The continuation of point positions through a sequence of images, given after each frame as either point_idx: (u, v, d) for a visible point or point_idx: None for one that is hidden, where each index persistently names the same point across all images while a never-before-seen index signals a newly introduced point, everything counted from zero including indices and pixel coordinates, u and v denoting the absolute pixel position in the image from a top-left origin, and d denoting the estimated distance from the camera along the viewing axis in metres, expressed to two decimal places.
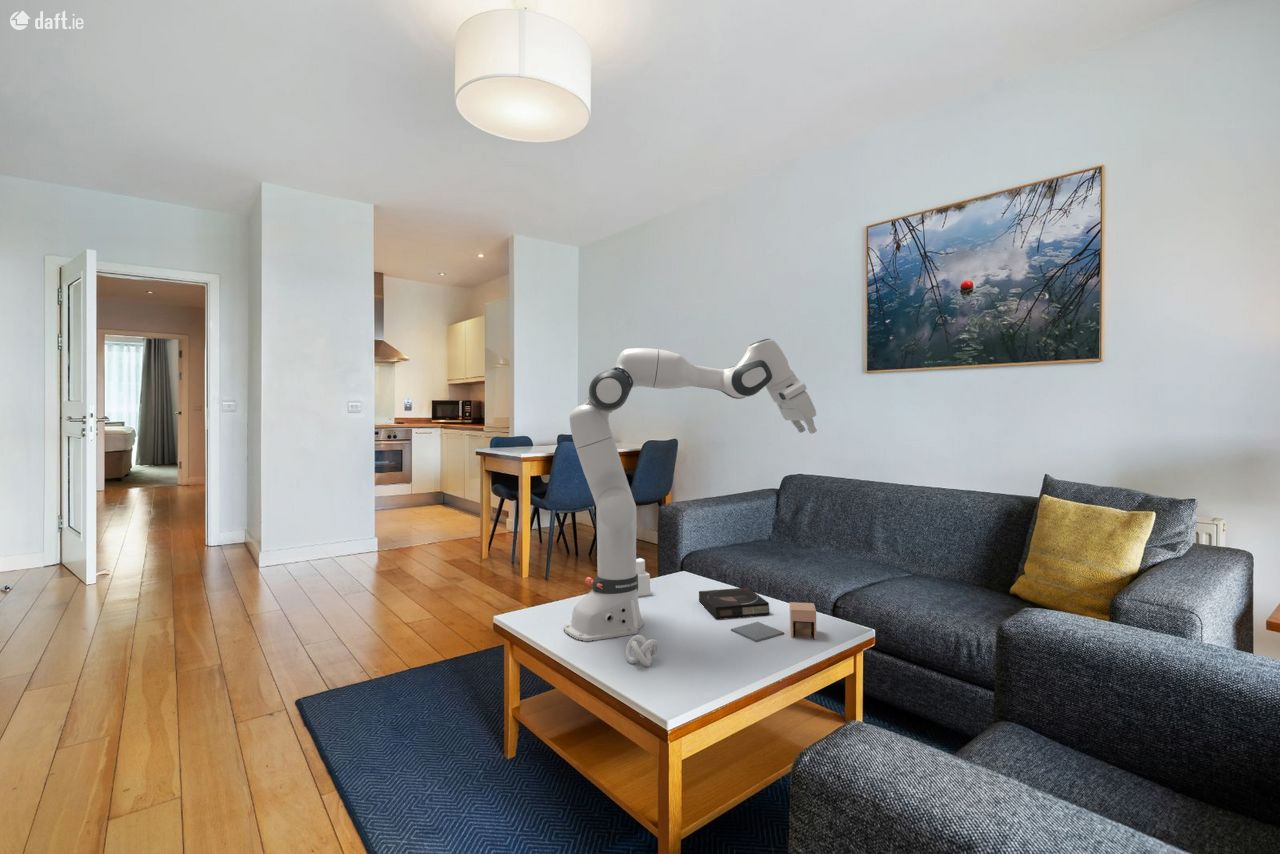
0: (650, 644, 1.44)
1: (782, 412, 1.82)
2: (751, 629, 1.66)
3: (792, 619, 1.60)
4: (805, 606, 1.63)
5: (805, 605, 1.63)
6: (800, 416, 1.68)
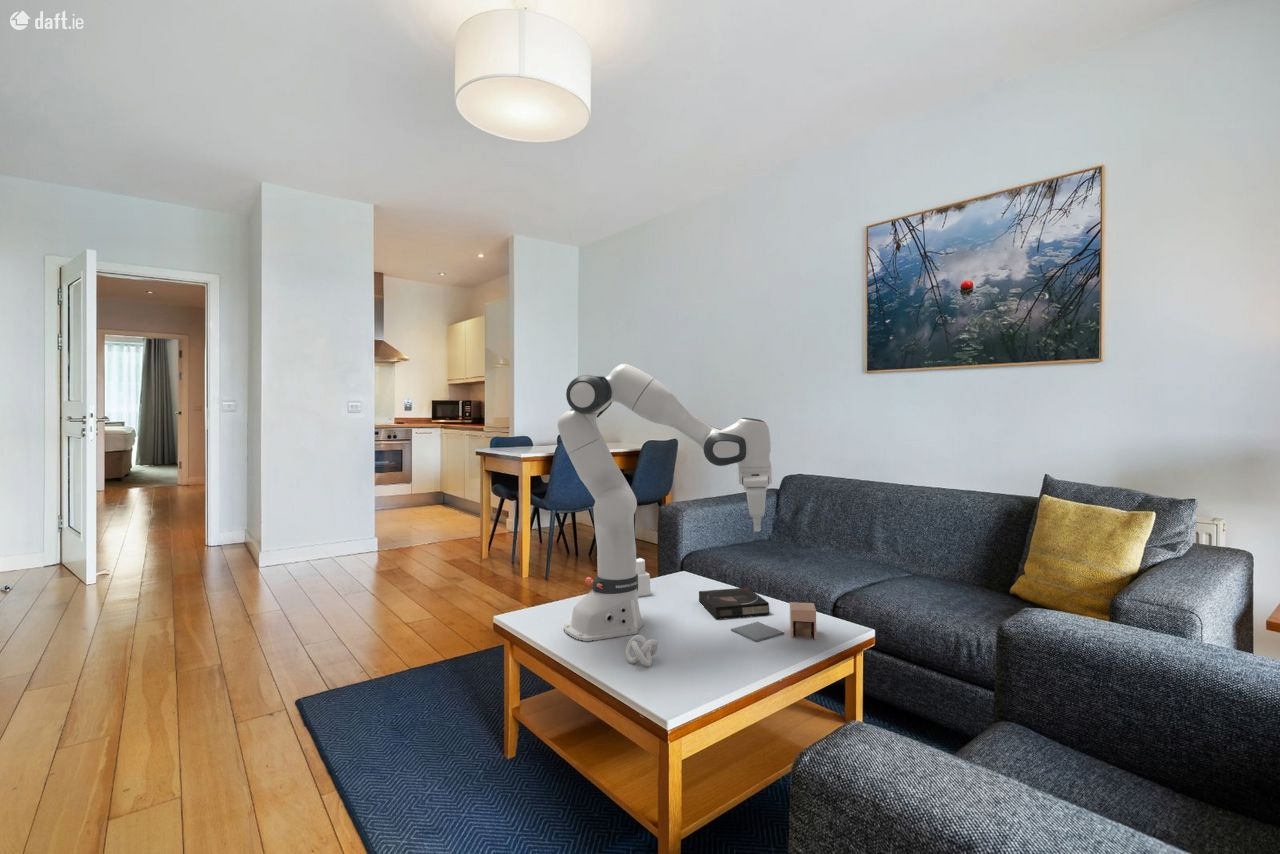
0: (650, 644, 1.44)
1: None
2: (751, 629, 1.66)
3: (792, 619, 1.60)
4: (805, 606, 1.63)
5: (805, 605, 1.63)
6: None
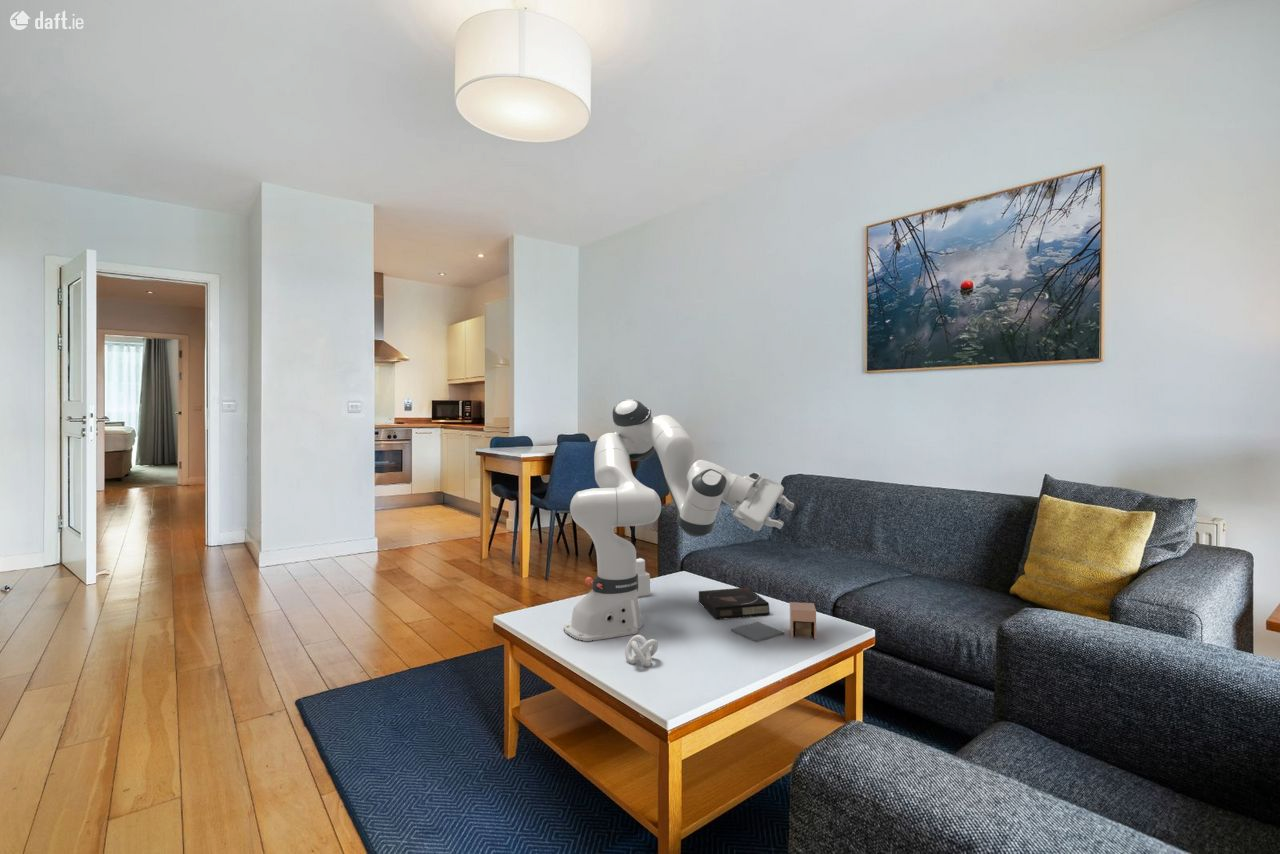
0: (650, 644, 1.44)
1: (755, 514, 1.62)
2: (751, 629, 1.66)
3: (792, 619, 1.60)
4: (805, 606, 1.63)
5: (805, 605, 1.63)
6: (777, 488, 1.73)
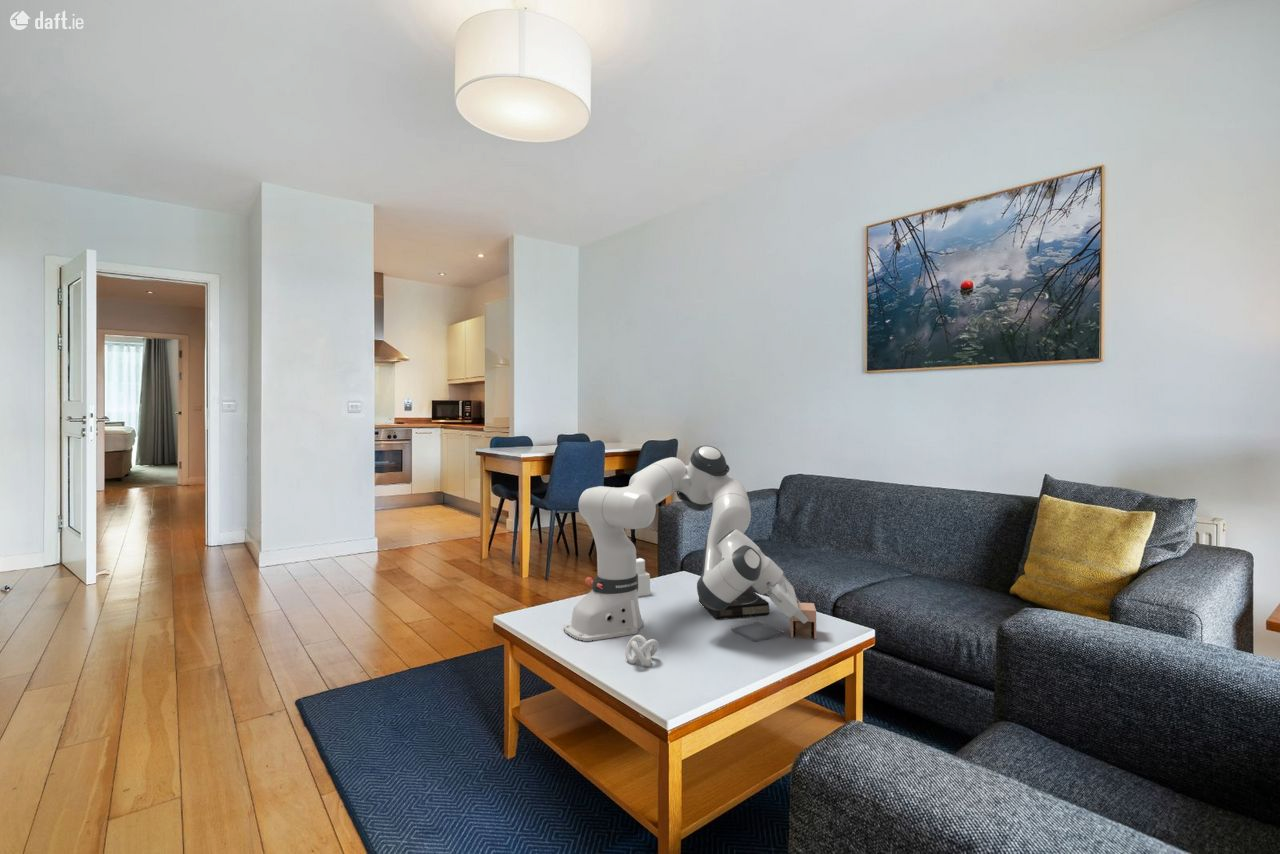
0: (650, 644, 1.44)
1: (791, 599, 1.56)
2: (751, 629, 1.66)
3: (792, 619, 1.60)
4: (805, 606, 1.63)
5: (805, 605, 1.63)
6: (791, 587, 1.70)
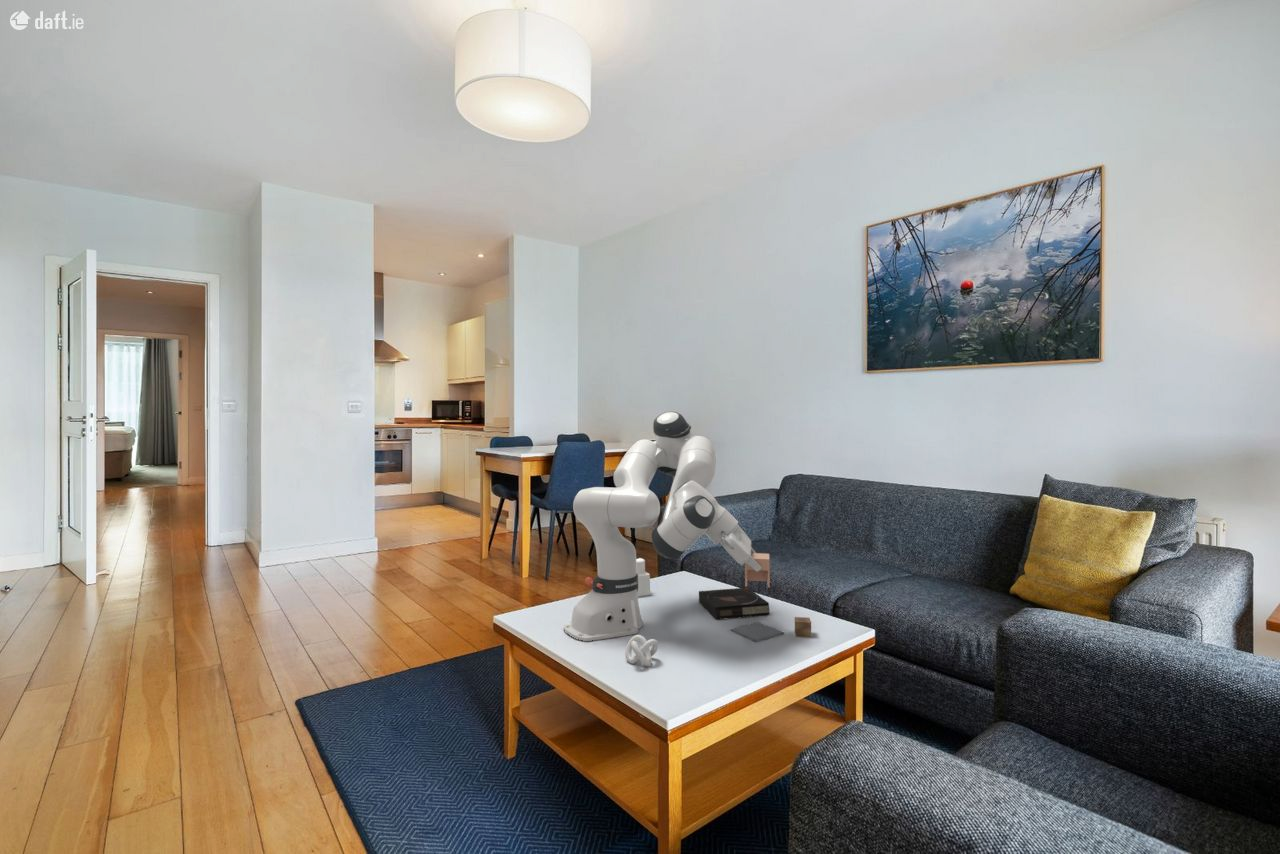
0: (650, 644, 1.44)
1: (743, 547, 1.57)
2: (751, 629, 1.66)
3: (746, 568, 1.62)
4: (760, 556, 1.64)
5: (760, 555, 1.65)
6: (748, 539, 1.71)
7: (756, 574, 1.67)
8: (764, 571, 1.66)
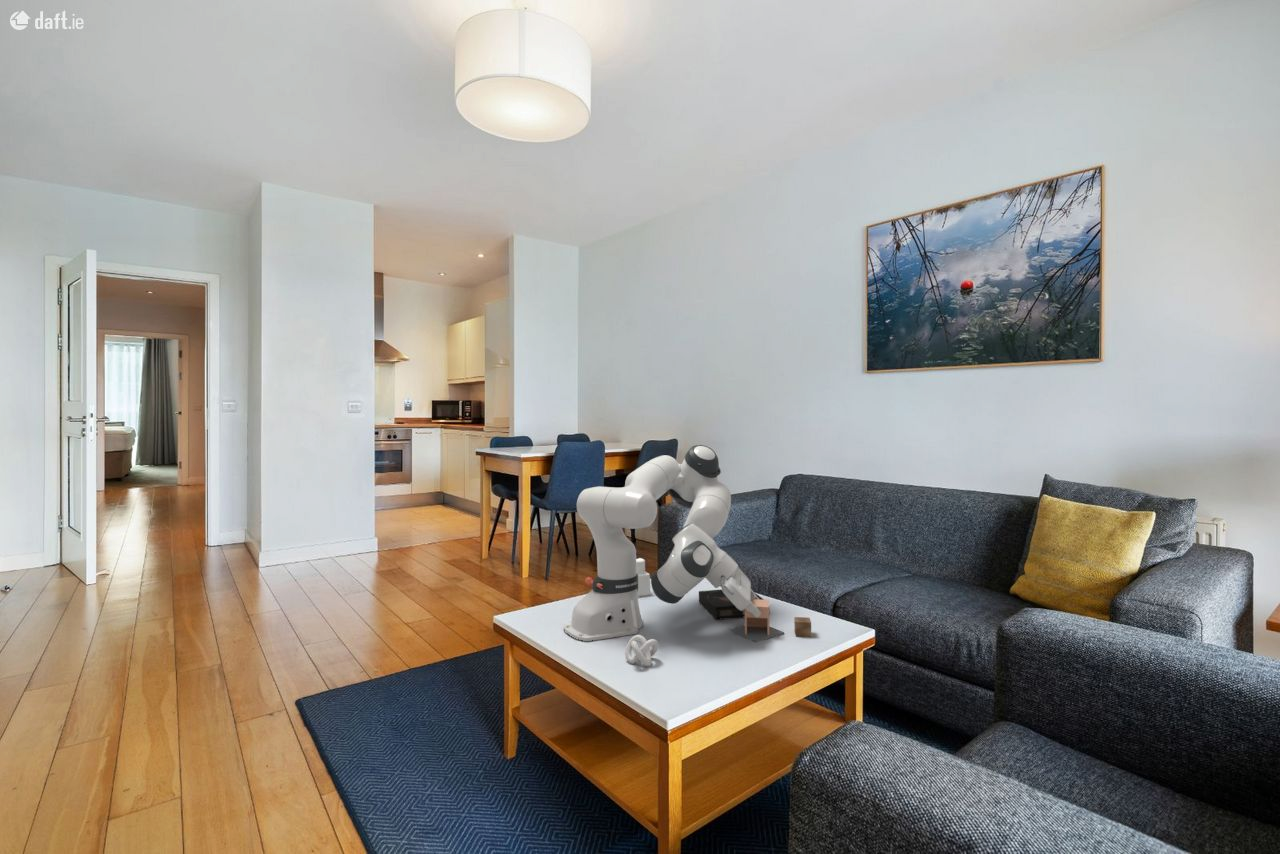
0: (650, 644, 1.44)
1: (743, 592, 1.58)
2: (751, 629, 1.66)
3: (746, 615, 1.62)
4: (759, 603, 1.64)
5: (760, 602, 1.65)
6: (747, 580, 1.72)
7: (755, 620, 1.67)
8: (764, 617, 1.67)
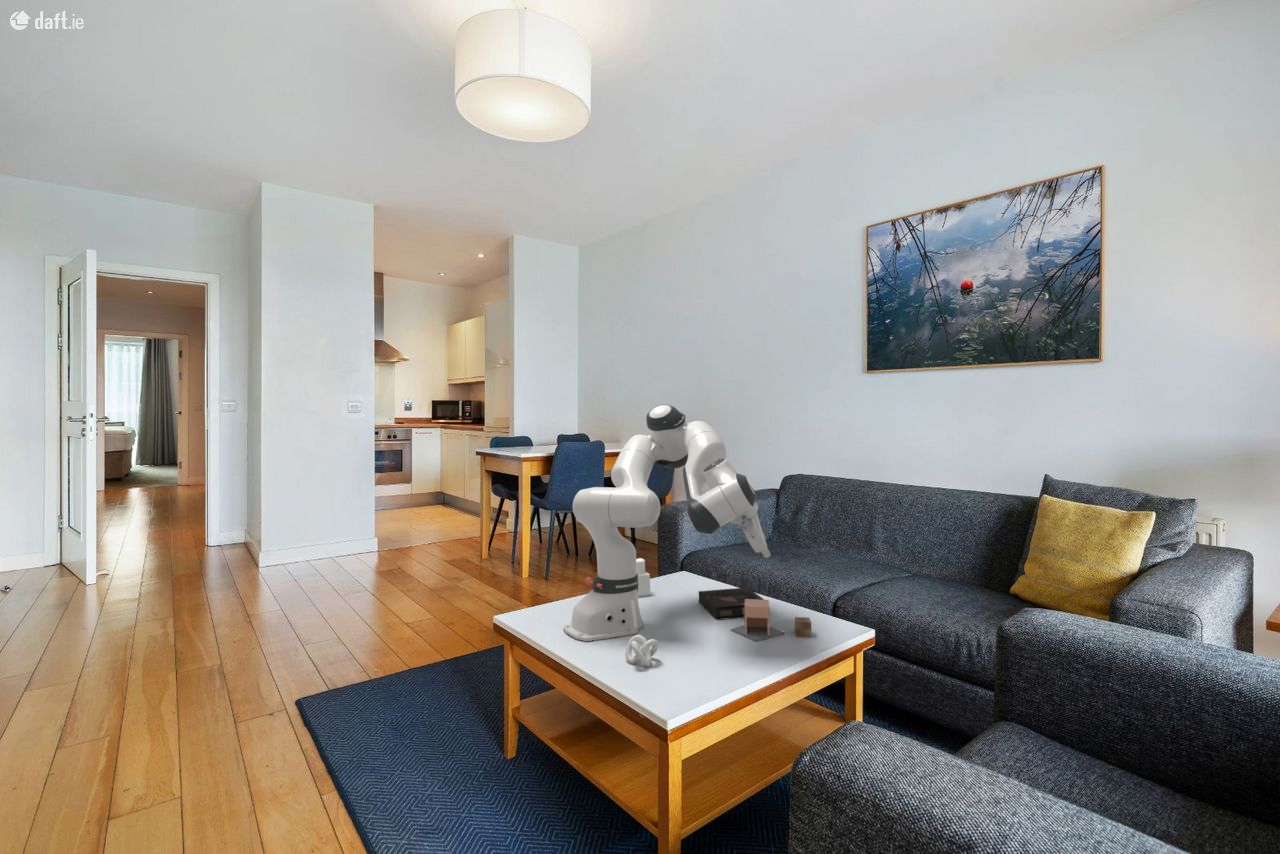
0: (650, 644, 1.44)
1: (762, 536, 1.64)
2: (751, 629, 1.66)
3: (746, 615, 1.62)
4: (759, 603, 1.64)
5: (760, 602, 1.65)
6: (757, 516, 1.78)
7: (755, 620, 1.67)
8: (764, 617, 1.67)
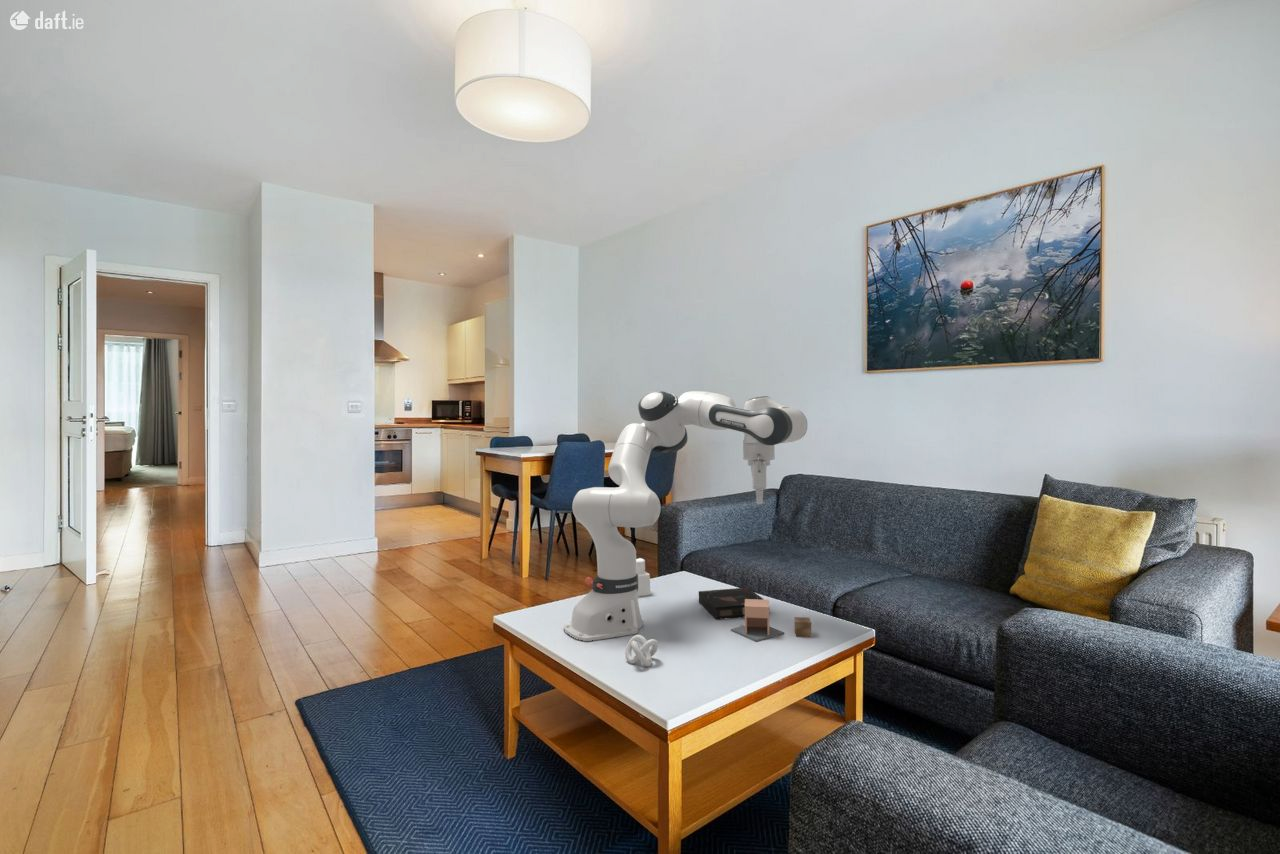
0: (650, 644, 1.44)
1: None
2: (751, 629, 1.66)
3: (746, 615, 1.62)
4: (759, 603, 1.64)
5: (760, 602, 1.65)
6: None
7: (755, 620, 1.67)
8: (764, 617, 1.67)
